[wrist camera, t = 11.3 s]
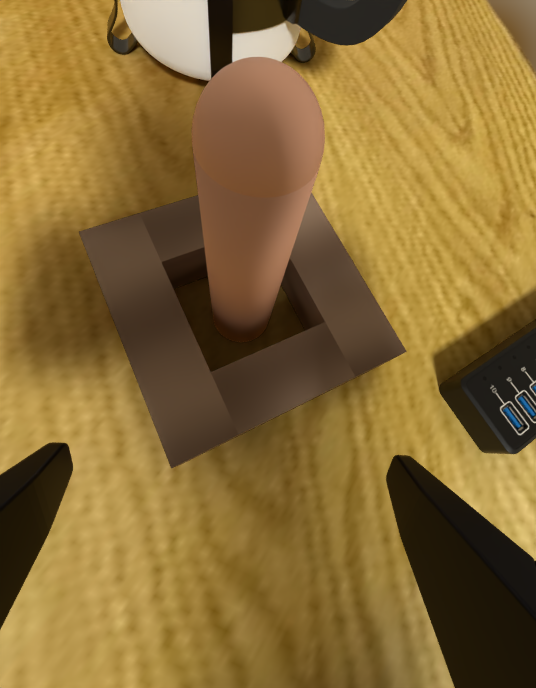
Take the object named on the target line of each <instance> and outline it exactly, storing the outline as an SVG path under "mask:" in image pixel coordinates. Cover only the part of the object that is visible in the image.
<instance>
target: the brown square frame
mask: <svg viewBox="0 0 536 688" xmlns="http://www.w3.org/2000/svg"><path fill="white" fill-rule="evenodd" d="M79 234H80V236H81V239H82V241H83V244H84V246H85V249H86V252H87V254H88V257H89V259H90V262H91V264H92V267H93V269H94V272H95V275H96V277H97V280H98V282H99V285H100V287H101V290H102V292H103V295H104V298H105V300H106V303H107V305H108V308H109V310H110V313H111V315H112V318H113V321H114V323H115V326H116V328H117V331H118V333H119V336H120V338H121V341H122V344H123V346H124V349H125V351H126V354H127V356H128V359H129V361H130V364H131V367H132V369H133V372H134V374H135V377H136V379H137V382H138V384H139V387H140V389H141V392H142V395H143V397H144V400H145V402H146V405H147V407H148V410H149V412H150V415H151V418H152V420H153V423H154V425H155V428H156V430H157V433H158V435H159V438H160V441H161V443H162V446H163V448H164V451H165V453H166V456H167V458H168V461H169V464H170V466H171V468H173V467H176V466H178V465H180V464H183V463H185V462H187V461H189V460H191V459H193V458H195V457H197V456H199V455H201V454H203V453H205V452H207V451H209V450H211V449H213V448H215V447H217V446H219V445H221V444H223V443H225V442H227V441H229V440H231V439H233V438H235V437H237V436H239V435H241V434H243V433H245V432H247V431H249V430H251V429H253V428H255V427H257V426H259V425H261V424H263V423H265V422H267V421H269V420H271V419H273V418H275V417H277V416H279V415H281V414H283V413H285V412H287V411H289V410H291V409H293V408H295V407H297V406H299V405H301V404H303V403H305V402H307V401H309V400H311V399H313V398H315V397H318V396H320V395H322V394H324V393H326V392H328V391H330V390H332V389H334V388H336V387H338V386H340V385H342V384H344V383H346V382H348V381H350V380H352V379H354V378H356V377H358V376H360V375H362V374H364V373H366V372H368V371H370V370H372V369H374V368H376V367H378V366H380V365H382V364H384V363H386V362H388V361H390V360H391V359H393V358H395V357H397V356H399V355H401V354H403V353H405V352H407V351H406V350H405V348H404V346H403V345H402V343H401V341H400V340H399V338H398V336H397V335H396V333H395V331H394V330H393V328H392V326H391V325H390V323H389V321H388V320H387V318H386V316H385V315H384V313H383V311H382V310H381V308H380V306H379V305H378V303H377V301H376V300H375V298H374V296H373V295H372V293H371V291H370V290H369V288H368V286H367V285H366V283H365V281H364V280H363V278H362V276H361V275H360V273H359V271H358V269H357V268H356V266H355V264H354V263H353V261H352V259H351V258H350V256H349V254H348V253H347V251H346V249H345V248H344V246H343V244H342V243H341V241H340V239H339V238H338V236H337V234H336V233H335V231H334V229H333V228H332V226H331V224H330V223H329V221H328V219H327V218H326V216H325V214H324V213H323V211H322V209H321V208H320V206H319V204H318V203H317V201H316V199H315V198H314V196H313V194H312V193H311V195H310V198H309V201H308V204H307V207H306V210H305V213H304V216H303V219H302V222H301V225H300V228H299V231H298V234H297V237H296V240H295V243H294V246H293V249H292V252H291V255H290V258H289V261H288V264H287V267H286V270H285V273H284V276H283V279H282V282H281V286H282V287H283V289H284V291H285V293H286V295H287V297H288V299H289V301H290V302H291V304H292V306H293V308H294V310H295V312H296V314H297V316H298V317H299V319H300V321H301V323H302V325H303V327H304V329H305V331H303V332H301V333H299V334H297V335H294V336H292V337H290V338H287V339H285V340H283V341H281V342H278V343H276V344H274V345H271V346H269V347H267V348H265V349H262V350H260V351H258V352H256V353H253V354H251V355H249V356H246V357H244V358H242V359H240V360H237V361H235V362H233V363H231V364H228V365H226V366H224V367H221V368H219V369H217V370H215V371H212V372H210V370H209V367H208V365H207V363H206V361H205V358H204V356H203V354H202V352H201V350H200V347H199V345H198V343H197V341H196V338H195V336H194V334H193V332H192V329H191V327H190V325H189V323H188V320H187V318H186V316H185V314H184V312H183V309H182V307H181V305H180V303H179V300H178V298H177V296H176V294H175V291H174V288H177V287H180V286H182V285H185V284H188V283H190V282H193V281H196V280H199V279H201V278H204V277H207V276H208V272H207V264H206V255H205V247H204V239H203V230H202V222H201V214H200V205H199V197H198V195H197V196H194V197H191V198H187V199H184V200H181V201H177V202H174V203H171V204H168V205H164V206H161V207H158V208H155V209H151V210H148V211H145V212H142V213H138V214H135V215H132V216H128V217H125V218H122V219H119V220H115V221H112V222H109V223H106V224H102V225H99V226H96V227H93V228H89V229H86V230H83V231H79Z"/></svg>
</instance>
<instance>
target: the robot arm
mask: <svg viewBox="0 0 536 688" xmlns="http://www.w3.org/2000/svg"><path fill="white" fill-rule="evenodd" d="M72 471H73V463H72V458H71V454H70V450H69V446H68V445H67V444H66V443H54V442H52V443H48V444H47V445H45V446H43V447H42V448H40V449H39V450H37V451H36V452H34V453H33V454H31V455H30V456H28V457H27V458H25V459H24V460H22V461H21V462H19V463H18V464H16V465H15V466H13V467H11V468H10V469H8V470H7V471H5V472H4V473H2V474H1V475H0V629H1V627H2V625H3V623H4V621H5V619H6V617H7V615H8V613H9V611H10V609H11V607H12V605H13V603H14V601H15V599H16V597H17V595H18V594H19V592H20V590H21V588H22V586H23V584H24V582H25V580H26V578H27V576H28V574H29V572H30V570H31V568H32V566H33V564H34V562H35V560H36V558H37V556H38V554H39V552H40V550H41V548H42V546H43V544H44V542H45V540H46V538H47V536H48V534H49V531H50V529H51V527H52V524H53V522H54V519H55V517H56V514H57V511H58V509H59V506H60V503H61V501H62V498H63V496H64V493H65V490H66V488H67V485H68V483H69V480H70V477H71V475H72ZM386 482H387V486H388V490H389V494H390V498H391V502H392V506H393V510H394V514H395V518H396V522H397V526H398V529H399V533H400V537H401V539H402V542H403V545H404V548H405V551H406V554H407V557H408V559H409V562H410V565H411V568H412V570H413V573H414V576H415V579H416V581H417V584H418V587H419V590H420V593H421V595H422V598H423V601H424V604H425V606H426V609H427V612H428V615H429V617H430V620H431V623H432V626H433V629H434V631H435V634H436V637H437V640H438V642H439V645H440V648H441V651H442V654H443V656H444V659H445V662H446V665H447V667H448V670H449V673H450V676H451V678H452V681H453V684H454V687H455V688H536V561H534V559H533V558H532V557H531V556H530V555H529V554H528V553H526V552H525V551H524V550H523V549H522V548H520V547H519V546H518V545H517V544H516V543H514V542H513V541H512V540H511V539H510V538H508V537H507V536H506V535H505V534H504V533H502V532H501V531H500V530H499V529H497V528H496V527H495V526H494V525H493V524H491V523H490V522H489V521H488V520H487V519H485V518H484V517H483V516H482V515H481V514H479V513H478V512H477V511H476V510H475V509H473V508H472V507H471V506H470V505H469V504H467V503H466V502H465V501H464V500H462V499H461V498H460V497H459V496H458V495H456V494H455V493H454V492H453V491H452V490H450V489H449V488H448V487H447V486H446V485H444V484H443V483H442V482H441V481H440V480H438V479H437V478H436V477H435V476H433V475H432V474H431V473H430V472H429V471H427V470H426V469H425V468H424V467H423V466H421V465H420V464H419V463H418V462H417V461H415V460H414V459H413V458H412V457H410V456H408V455H395V456H394V457H393V459H392V462H391V464H390V467H389V470H388V472H387V476H386Z"/></svg>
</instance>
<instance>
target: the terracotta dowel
mask: <svg viewBox="0 0 536 688" xmlns="http://www.w3.org/2000/svg"><path fill="white" fill-rule="evenodd" d="M324 143H325V130H324V121H323V116H322V112H321V108H320V106H319V103H318V101H317V98H316V96H315V94H314V92H313V91H312V89H311V88H310V86H309V85H308V83H307V82H306V81H305V80H304V79H303V78H302V77H301V76H300V74H299V73H297V72H296V71H295V70H294V69H292V68H291V67H290V66H288V65H286V64H284V63H282V62H280V61H277V60H275V59H271V58H266V57H249V58H243V59H240V60H237V61H235V62H233V63H231V64H229V65H227V66H225V67H224V68H222V69H221V70H220V71H219V72H218V73H217V74H215V75H214V76H213V77H212V78H211V80H210V81H209V82H208V84H207V85H206V87H205V88H204V90H203V91H202V93H201V95H200V98H199V100H198V102H197V105H196V108H195V112H194V116H193V123H192V147H193V155H194V164H195V172H196V180H197V189H198V197H199V205H200V214H201V222H202V230H203V239H204V247H205V255H206V264H207V272H208V281H209V289H210V297H211V306H212V314H213V321H214V324H215V327H216V329H217V330H218V331H219V333H220V334H221V335H222V336H224V337H225V338H227V339H229V340H231V341H234V342H248V341H252V340H254V339H256V338H258V337H259V336H260V335H261V334H262V333H263V332H264V331H265V329H266V327H267V325H268V322H269V319H270V316H271V313H272V310H273V307H274V304H275V301H276V298H277V295H278V292H279V288H280V285H281V282H282V279H283V276H284V273H285V270H286V267H287V264H288V261H289V258H290V255H291V252H292V249H293V246H294V243H295V240H296V237H297V234H298V231H299V228H300V225H301V222H302V219H303V216H304V213H305V210H306V207H307V204H308V201H309V198H310V195H311V192H312V189H313V186H314V182H315V179H316V176H317V173H318V170H319V167H320V164H321V160H322V157H323V152H324Z"/></svg>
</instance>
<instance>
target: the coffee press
mask: <svg viewBox="0 0 536 688" xmlns="http://www.w3.org/2000/svg"><path fill="white" fill-rule="evenodd" d="M114 1H115V3H114V7H113V10H112V12H111V15H110V17H109V20H108V28H107V40H108V43H109V45H110V47H111V48H112V49H113V50H114V51H115V52H116V53H118V54H122V55H125V54H128V53H129V52H130V51H131V50H132V48H133V47H134V46H135V45H136V43H137V42H139V43H140V44H141V45H142V47H143V48H144V49H145V50H146V51H147V52H148V53H149V54H150V55H152V56H153V57H154V58H155V59H157V60H158V61H159V62H161V63H162V64H164V65H165V66H167V67H169V68H171V69H173V70H175V71H177V72H179V73H182V74H184V75H187V76H190V77H193V78H197V79H201V80H207V81H210V80H211V78H212V77H213V76H214V75H215V74H217V73H218V72H219V71H220V70H221V69H222V68H224V67H225V66H227V65H229V64H231V63H233V62H235V61H237V60H240V59H243V58H249V57H266V58H271V59H275V60H277V61H280V62H282V61H283V60H284V59H285V58H286V57H287V56H288V55H289V53H290V52H292V53H293V55H294V56H295V58H296V59H297V60H298V61H299V62H302V63H305V62H308V61H310V60H311V59H312V58H313V56H314V54H315V50H316V48H315V43H314V38H313V35H315V36H317V37H319V38H321V39H323V40H325V41H328V42H331V43H334V44H338V45H355V44H358V43H361V42H364V41H366V40H367V39H369V38H371V37H372V36H374V35H375V34H376V33H377V32H379V31H380V30H381V29H382V28H383V27H384V26H385V25H387V24H388V23H389V22H390V21H391V20H392V19H393V18H394V17H395V16H396V14H397V13H398V12H399V11H400V10H401V9H402V7H403V6H404V4H405V3H406V1H407V0H120V2H121V6H122V9H123V13H124V16H125V19H126V22H127V24H128V26H129V28H130V30H131V32H132V33H131V34H130V36H129V37H128V38H127V39H125V40H121V39H118V38H116V37H115V36H114V35H113V34H112V32H111V31H112V29H113V26H114V24H115V21H116V17H117V10H118V0H114ZM301 27H302V28H303V29H305V30H306V31H308V33H309V36H310V39H311V41H310V44H309V45H308V46H307V47H306V48H304V49H299V48H297V47H296V46H295V44H296V42H297V39H298V37H299V33H300V29H301Z"/></svg>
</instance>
